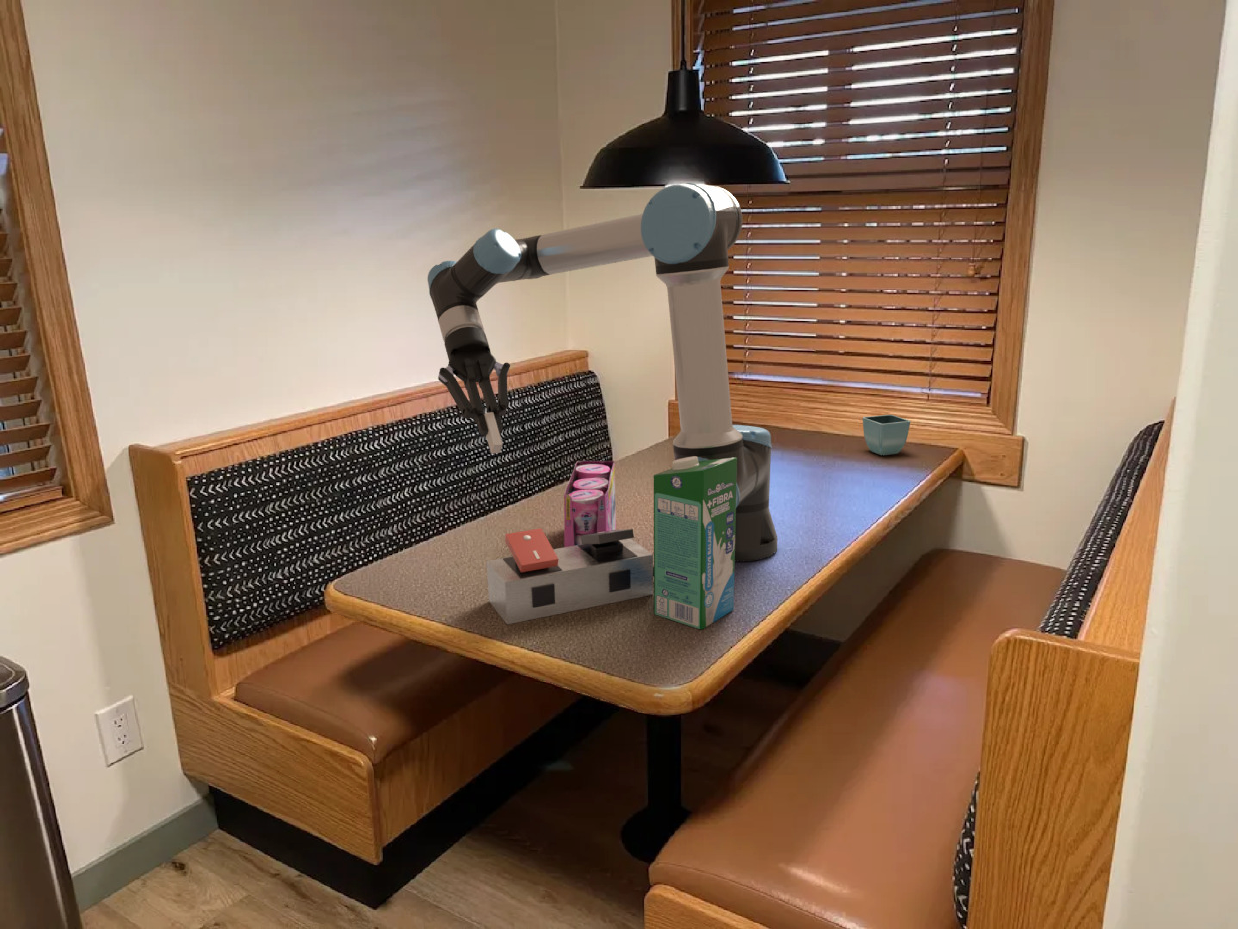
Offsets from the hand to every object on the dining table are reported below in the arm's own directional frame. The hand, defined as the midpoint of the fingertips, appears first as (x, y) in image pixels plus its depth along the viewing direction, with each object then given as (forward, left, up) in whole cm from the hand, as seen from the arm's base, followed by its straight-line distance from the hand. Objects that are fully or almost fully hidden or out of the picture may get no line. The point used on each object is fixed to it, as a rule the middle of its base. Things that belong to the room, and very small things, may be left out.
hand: (496, 448), depth 151 cm
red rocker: (-7, +14, -13) cm, 20 cm away
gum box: (-15, -13, -23) cm, 30 cm away
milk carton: (-32, +17, -23) cm, 43 cm away
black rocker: (-18, +8, -13) cm, 24 cm away
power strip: (-16, +10, -22) cm, 29 cm away
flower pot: (-88, -77, -23) cm, 119 cm away
